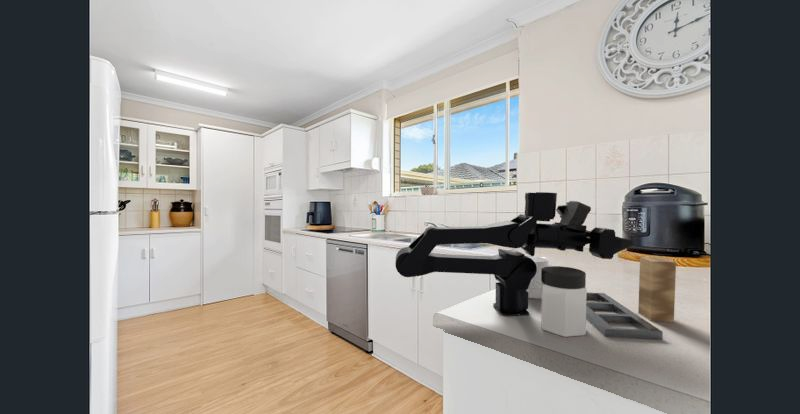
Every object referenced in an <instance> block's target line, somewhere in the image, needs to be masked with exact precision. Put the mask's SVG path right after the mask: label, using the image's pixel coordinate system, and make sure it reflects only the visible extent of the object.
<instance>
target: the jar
mask: <svg viewBox="0 0 800 414" xmlns="http://www.w3.org/2000/svg"><path fill="white" fill-rule="evenodd" d="M586 276H587V273H586V272H585V271H583V270H582V269H579V268H576V267H575V268H574V267H569V266H568V267H567V266H560V265H558V266H557V265H556V266H555V265H554V266H553V265H551V266H550V265H548V267H544V268H542V269H541V298H540V325H541V329H542V330H543V331H546V332H549V333H552V334H555V335H558V336H560V337H563V338H566V337H567V338H569V337H579V336H586V333H587V330H586V328H587V319H586V301H587V299H586V295H587V291H588V290H587V287H586V286H587V284H586V283H587V277H586Z"/></svg>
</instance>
